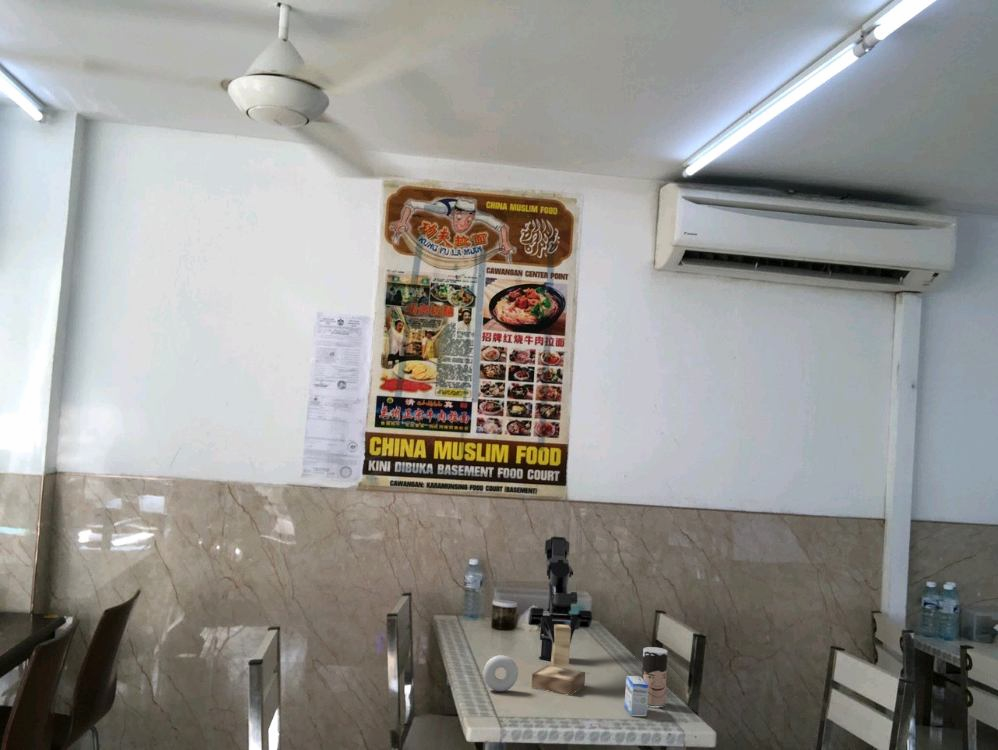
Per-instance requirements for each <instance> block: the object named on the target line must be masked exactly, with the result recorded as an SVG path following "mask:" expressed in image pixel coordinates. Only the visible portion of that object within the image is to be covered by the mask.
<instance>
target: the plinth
mask: <svg viewBox="0 0 998 750" xmlns="http://www.w3.org/2000/svg"><path fill="white" fill-rule="evenodd" d="M531 676H532V677H531V687H535V688H539V689H538V690H540V689H544V690H543V691H545V690H549V691H548V692H550V691H553V692H552V693H555V692H560V693H564V694H563V695H565V694H568V695H567V696H572V695H573V694H575V693H576V692H578V691H579V690H581V689H582V688H584V687H585V686H584V685H586V671H582V670H576V669H571V668H566V667H562V666H553V665H549V664H548V665H547V664H546V665H545V666H544V667H542V668H540V669H538V670H536V671H535V672H533V673H532V674H531ZM583 686H584V687H583ZM581 687H582V688H581ZM535 688H534V689H535ZM580 688H581V689H580ZM578 689H579V690H578ZM577 690H578V691H577ZM575 691H576V692H575ZM574 692H575V693H574ZM560 693H559V694H560ZM572 693H573V694H572ZM571 694H572V695H571Z"/></svg>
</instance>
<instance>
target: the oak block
mask: <svg viewBox="0 0 998 750" xmlns="http://www.w3.org/2000/svg"><path fill="white" fill-rule="evenodd" d="M569 625H570V624H566V625H559V624H554V625H553V630H554V639H555V641H554V643H553V642H552V657H551V661H550V662H551V664H552V666H556V667H562V668H566V667H569V666H570V651H571V649H570V648H571V644H570V636H571V628H570V626H569Z"/></svg>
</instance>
